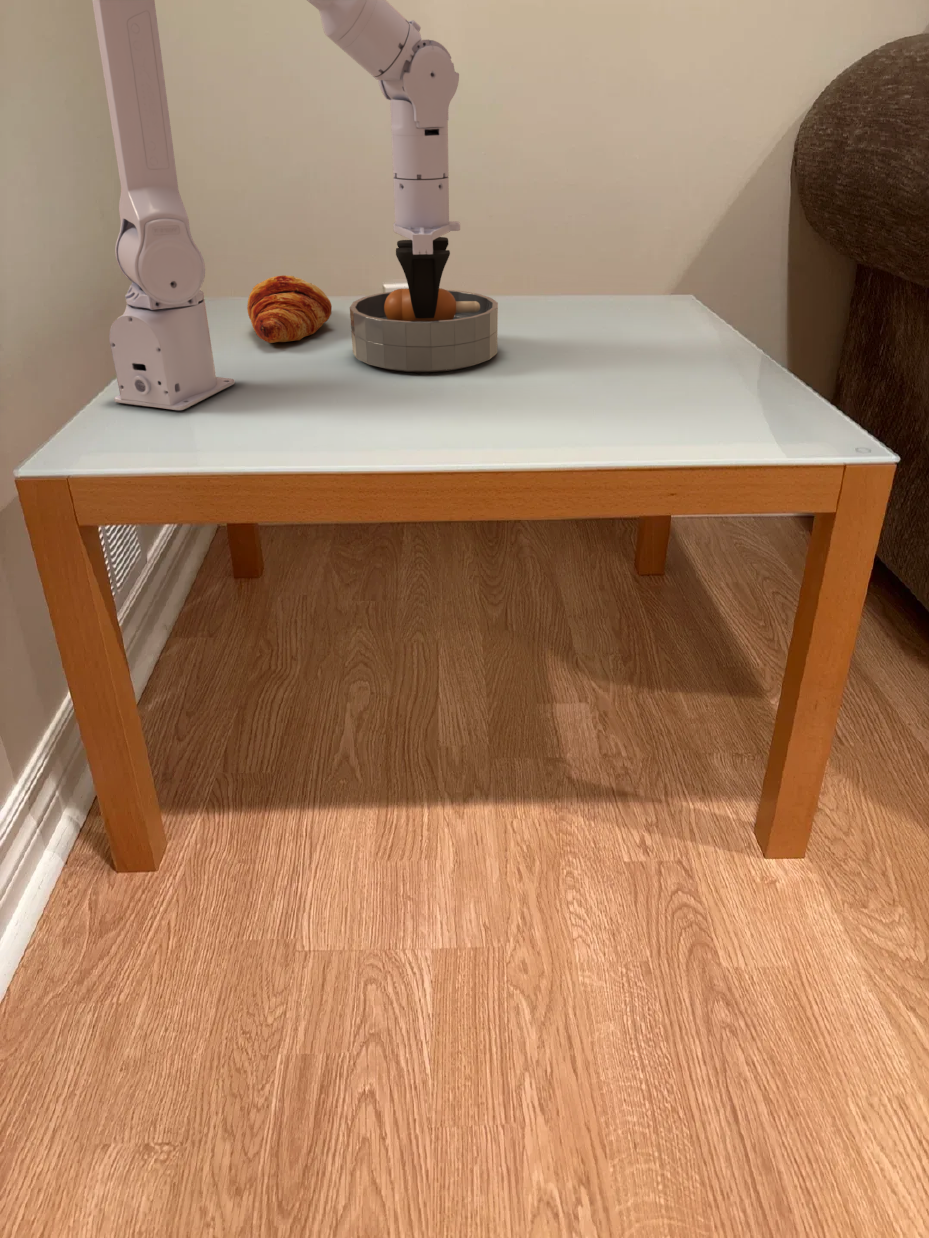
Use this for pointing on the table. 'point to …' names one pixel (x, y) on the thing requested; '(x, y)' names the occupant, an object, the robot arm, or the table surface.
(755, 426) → the table surface
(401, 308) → the corn dog
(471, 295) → the bowl
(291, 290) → the croissant
